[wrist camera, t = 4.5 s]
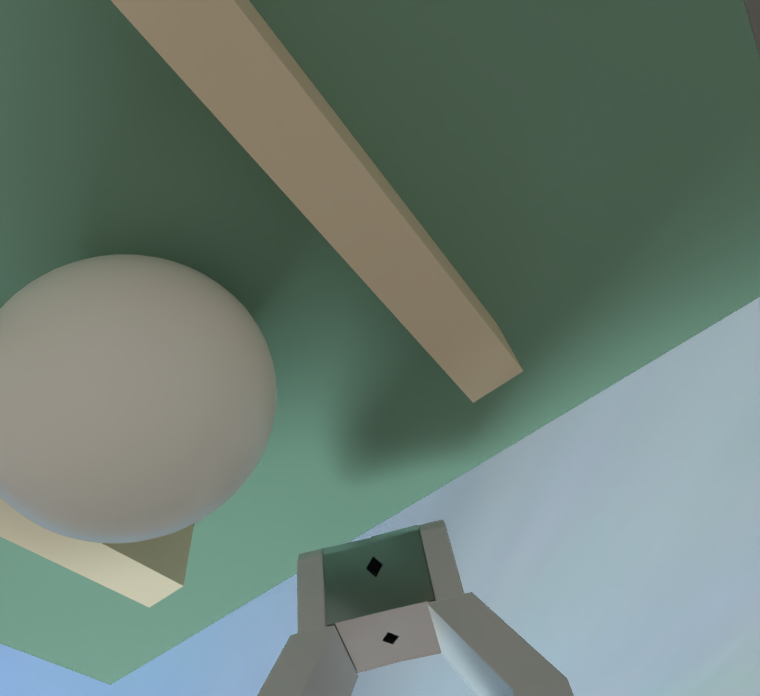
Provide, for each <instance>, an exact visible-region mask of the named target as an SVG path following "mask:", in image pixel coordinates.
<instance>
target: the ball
mask: <svg viewBox="0 0 760 696" xmlns="http://www.w3.org/2000/svg"><path fill="white" fill-rule="evenodd" d="M276 403H277V385H276V374H275V369H274V364H273V360H272V357H271V354H270V351H269V348H268V345H267V342H266V340H265V338H264V336H263V334H262V332H261V330H260V329H259V327H258V325H257V323H256V322H255V320H254V319H253V317H252V316H251V315H250V313H249V312H248V311H247V309H246V308H245V307H244V306H243V305H242V304H241V303H240V302H239V300H238V299H237V298H236V297H235V296H234V295H232V294H231V293H230V292H229V291H228V290H226V289H225V288H224V287H223V286H221V285H220V284H219V283H217V282H216V281H214V280H212V279H211V278H209V277H208V276H206V275H205V274H203V273H201V272H199V271H197V270H194V269H192V268H190V267H188V266H185V265H183V264H180V263H177V262H174V261H170V260H166V259H162V258H158V257H151V256H144V255H131V254H114V255H104V256H96V257H92V258H88V259H83V260H79V261H76V262H72V263H69V264H67V265H64V266H61V267H59V268H56V269H54V270H52V271H50V272H48V273H46V274H44V275H43V276H41V277H39V278H37V279H36V280H34V281H32V282H30V283H29V284H27V285H26V286H25V287H23V288H22V289H21V290H20V291H18V292H17V293H16V294H14V295H13V296H12V297H11V298H10V299H9V300H8V301H7V302H6V303H5V304H4V305H3V306H2V307H1V308H0V497H1V498H2V499H3V500H4V501H5V502H6V503H7V504H8V505H9V506H11V507H12V508H13V509H14V510H16V511H17V512H19V513H20V514H21V515H23V516H24V517H26V518H27V519H29V520H30V521H32V522H34V523H35V524H37V525H39V526H41V527H43V528H45V529H47V530H50V531H52V532H54V533H57V534H60V535H63V536H66V537H70V538H74V539H78V540H83V541H89V542H97V543H131V542H138V541H144V540H149V539H153V538H158V537H162V536H165V535H168V534H171V533H175V532H177V531H179V530H181V529H184V528H186V527H188V526H190V525H192V524H194V523H196V522H198V521H200V520H201V519H203V518H205V517H206V516H208V515H209V514H211V513H212V512H213V511H215V510H216V509H217V508H219V507H220V506H221V505H222V504H224V503H225V502H226V501H228V500H229V499H230V498H231V497H232V496H233V495H234V494H235V493H236V492H237V491H238V489H239V488H240V487H241V486H242V485H243V484H244V483H245V481H246V480H247V479H248V477H249V476H250V475H251V473H252V472H253V470H254V469H255V467H256V465H257V464H258V462H259V460H260V458H261V456H262V454H263V452H264V450H265V449H266V446H267V443H268V440H269V437H270V434H271V431H272V428H273V425H274V418H275V411H276Z"/></svg>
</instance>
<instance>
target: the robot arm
mask: <svg viewBox="0 0 760 696" xmlns="http://www.w3.org/2000/svg"><path fill="white" fill-rule="evenodd" d="M419 529H420V530H419ZM297 600H298V633H297V634H294V635H291V636H290V637H289V639H288V641H287V643H286V645H285V646H284V648H283V650H282V652H281V654H280V655H279V657H278V659H277V661H276V663H275V665H274V666H273V668H272V670H271V672H270V674H269V675H268V677H267V679H266V681H265V683H264V685H263V686H262V688H261V690H260V692H259V694H258V695H257V696H351V694H352V691H353V688H354V686H355V683H356V680H357V678H358V675H357V673H359V672H363V671H367V670H371V669H374V668H378V667H382V666H386V665H389V664H393V663H397V662H401V661H406V660H410V659H415V658H420V657H425V656H430V655H434V654H439V653H442V656H443V657H444V658H445V659H446V660H447V661H448V663H449V664H450V665H451V666H452V667H453V668H454V670H455V671H456V672H457V673H458V674H459V675H460V677H461V678H462V679H463V680H464V681H465V682H466V683H467V685H468V686H469V687H470V688H471V689H472V690H473V692H474V693H475V694H476V695H477V696H574V695H573V693H572V690H571V687H570V685H569V682H568V680H567V678H566V677H565V676H564V675H563V674H562V673H560V672H559V671H558V670H557V669H556V668H555V667H554V666H553V665H552V664H551V663H549V662H548V661H547V660H546V659H545V658H544V657H543V656H542V655H541V654H539V653H538V652H537V651H536V650H535V649H534V648H533V647H532V646H531V645H530V644H528V643H527V642H526V641H525V640H524V639H523V638H522V637H521V636H520V635H518V634H517V633H516V632H515V631H514V630H513V629H512V628H511V627H510V626H508V625H507V624H506V623H505V622H504V621H503V620H502V619H501V618H500V617H499V616H497V615H496V614H495V613H494V612H493V611H492V610H491V609H490V608H489V607H487V606H486V605H485V604H484V603H483V602H482V601H481V600H480V599H479V598H478V597H476V596H475V595H474V594H473V593H472V592H470V593H465V594H464V591H463V587H462V583H461V580H460V576H459V573H458V569H457V565H456V562H455V558H454V554H453V551H452V547H451V543H450V540H449V536H448V532H447V529H446V525H445V523H444V521H443V519H442V520H438V521H434V522H430V523H427V524H423V525H419V526H418V525H415V526H411V527H408V528H404V529H400V530H396V531H392V532H388V533H384V534H380V535H376V536H373V537H371V538H368V539H363V540H359V541H354V542H350V543H345V544H340V545H336V546H331V547H327V548H322V549H317V550H313V551H309V552H305V553H301V554H299V557H298V561H297Z"/></svg>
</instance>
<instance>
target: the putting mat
mask: <svg viewBox="0 0 760 696" xmlns="http://www.w3.org/2000/svg"><path fill="white" fill-rule="evenodd" d="M114 254H131V255H144V256H151V257H158V258H162V259H166V260H170V261H174V262H177V263H180V264H183V265H185V266H188V267H190V268H192V269H194V270H197V271H199V272H201V273H203V274H205V275H206V276H208V277H209V278H211V279H212V280H214V281H216V282H217V283H219V284H220V285H221V286H223V287H224V288H225V289H226V290H228V291H229V292H230V293H231V294H232V295H234V296H235V297H236V298H237V299H238V300H239V302H240V303H241V304H242V305H243V306H244V307H245V308H246V309H247V311H248V312H249V313H250V315H251V316H252V317H253V319H254V320H255V322H256V323H257V325H258V327H259V329H260V330H261V332H262V334H263V336H264V338H265V340H266V342H267V345H268V348H269V351H270V354H271V357H272V360H273V364H274V369H275V374H276V385H277V403H276V411H275V418H274V425H273V428H272V431H271V434H270V437H269V440H268V443H267V446H266V449H265V450H264V452H263V454H262V456H261V458H260V460H259V462H258V464H257V465H256V467H255V469H254V470H253V472H252V473H251V475H250V476H249V477H248V479H247V480H246V481H245V483H244V484H243V485H242V486H241V487H240V488H239V489H238V491H237V492H236V493H235V494H234V495H233V496H232V497H231V498H230V499H229V500H228V501H226V502H225V503H224V504H222V505H221V506H220V507H219V508H217V509H216V510H215V511H213V512H212V513H211V514H209V515H208V516H206V517H205V518H203V519H201V520H200V521H198V522H196V523H194V524H192V525H190V526H188V527H186V528H184V529H181V530H179V531H177V532H175V533H171V534H168V535H165V536H162V537H158V538H153V539H149V540H144V541H138V542H131V543H97V542H89V541H83V540H78V539H74V538H70V537H66V536H63V535H60V534H57V533H54V532H52V531H50V530H47V529H45V528H43V527H41V526H39V525H37V524H35V523H34V522H32V521H30V520H29V519H27V518H26V517H24V516H23V515H21V514H20V513H19V512H17V511H16V510H14V509H13V508H12V507H11V506H9V505H8V504H7V503H6V502H5V501H4V500H3V499H2V498H1V497H0V644H3V645H6V646H8V647H11V648H14V649H16V650H19V651H22V652H24V653H27V654H30V655H32V656H35V657H38V658H40V659H43V660H46V661H48V662H51V663H54V664H56V665H59V666H62V667H64V668H67V669H70V670H72V671H75V672H78V673H80V674H83V675H86V676H89V677H91V678H94V679H97V680H99V681H102V682H105V683H107V684H110V685H111V684H112V683H114V682H116V681H118V680H119V679H121V678H123V677H124V676H126V675H128V674H129V673H131V672H133V671H134V670H136V669H138V668H139V667H141V666H143V665H144V664H146V663H148V662H149V661H151V660H153V659H154V658H156V657H158V656H159V655H161V654H163V653H164V652H166V651H168V650H169V649H171V648H173V647H174V646H176V645H178V644H179V643H181V642H183V641H184V640H186V639H188V638H189V637H191V636H193V635H194V634H196V633H198V632H200V631H201V630H203V629H205V628H206V627H208V626H210V625H211V624H213V623H215V622H216V621H218V620H220V619H221V618H223V617H225V616H226V615H228V614H230V613H231V612H233V611H235V610H236V609H238V608H240V607H241V606H243V605H245V604H246V603H248V602H250V601H251V600H253V599H255V598H256V597H258V596H260V595H261V594H263V593H265V592H266V591H268V590H270V589H271V588H273V587H275V586H276V585H278V584H280V583H282V582H283V581H285V580H287V579H288V578H290V577H292V576H293V575H295V574H297V561H298V557H299V554H301V553H305V552H309V551H313V550H317V549H322V548H327V547H331V546H336V545H340V544H345V543H348V542H350V541H352V540H353V539H355V538H357V537H358V536H360V535H362V534H363V533H365V532H367V531H369V530H370V529H372V528H374V527H375V526H377V525H379V524H380V523H382V522H384V521H385V520H387V519H389V518H390V517H392V516H394V515H395V514H397V513H399V512H400V511H402V510H404V509H405V508H407V507H409V506H410V505H412V504H414V503H415V502H417V501H419V500H420V499H422V498H424V497H425V496H427V495H429V494H430V493H432V492H434V491H435V490H437V489H439V488H440V487H442V486H444V485H445V484H447V483H449V482H451V481H452V480H454V479H456V478H457V477H459V476H461V475H462V474H464V473H466V472H467V471H469V470H471V469H472V468H474V467H476V466H477V465H479V464H481V463H482V462H484V461H486V460H487V459H489V458H491V457H492V456H494V455H496V454H497V453H499V452H501V451H502V450H504V449H506V448H507V447H509V446H511V445H512V444H514V443H516V442H517V441H519V440H521V439H522V438H524V437H526V436H527V435H529V434H531V433H533V432H534V431H536V430H538V429H539V428H541V427H543V426H544V425H546V424H548V423H549V422H551V421H553V420H554V419H556V418H558V417H559V416H561V415H563V414H564V413H566V412H568V411H569V410H571V409H573V408H574V407H576V406H578V405H579V404H581V403H583V402H584V401H586V400H588V399H589V398H591V397H593V396H594V395H596V394H598V393H599V392H601V391H603V390H604V389H606V388H608V387H609V386H611V385H613V384H614V383H616V382H618V381H620V380H621V379H623V378H625V377H626V376H628V375H630V374H631V373H633V372H635V371H636V370H638V369H640V368H641V367H643V366H645V365H646V364H648V363H650V362H651V361H653V360H655V359H656V358H658V357H660V356H661V355H663V354H665V353H666V352H668V351H670V350H671V349H673V348H675V347H676V346H678V345H680V344H681V343H683V342H685V341H686V340H688V339H690V338H691V337H693V336H695V335H696V334H698V333H700V332H702V331H703V330H705V329H707V328H708V327H710V326H712V325H713V324H715V323H717V322H718V321H720V320H722V319H723V318H725V317H727V316H728V315H730V314H732V313H733V312H735V311H737V310H738V309H740V308H742V307H743V306H745V305H747V304H748V303H750V302H752V301H753V300H755V299H757V298H758V297H760V55H759V52H758V48H757V45H756V41H755V38H754V34H753V31H752V27H751V24H750V21H749V17H748V14H747V10H746V7H745V3H744V0H0V308H1V307H2V306H3V305H4V304H5V303H6V302H7V301H8V300H9V299H10V298H11V297H12V296H13V295H14V294H16V293H17V292H18V291H20V290H21V289H22V288H23V287H25V286H26V285H27V284H29V283H30V282H32V281H34V280H36V279H37V278H39V277H41V276H43V275H44V274H46V273H48V272H50V271H52V270H54V269H56V268H59V267H61V266H64V265H67V264H69V263H72V262H76V261H79V260H83V259H88V258H92V257H96V256H104V255H114Z"/></svg>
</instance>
